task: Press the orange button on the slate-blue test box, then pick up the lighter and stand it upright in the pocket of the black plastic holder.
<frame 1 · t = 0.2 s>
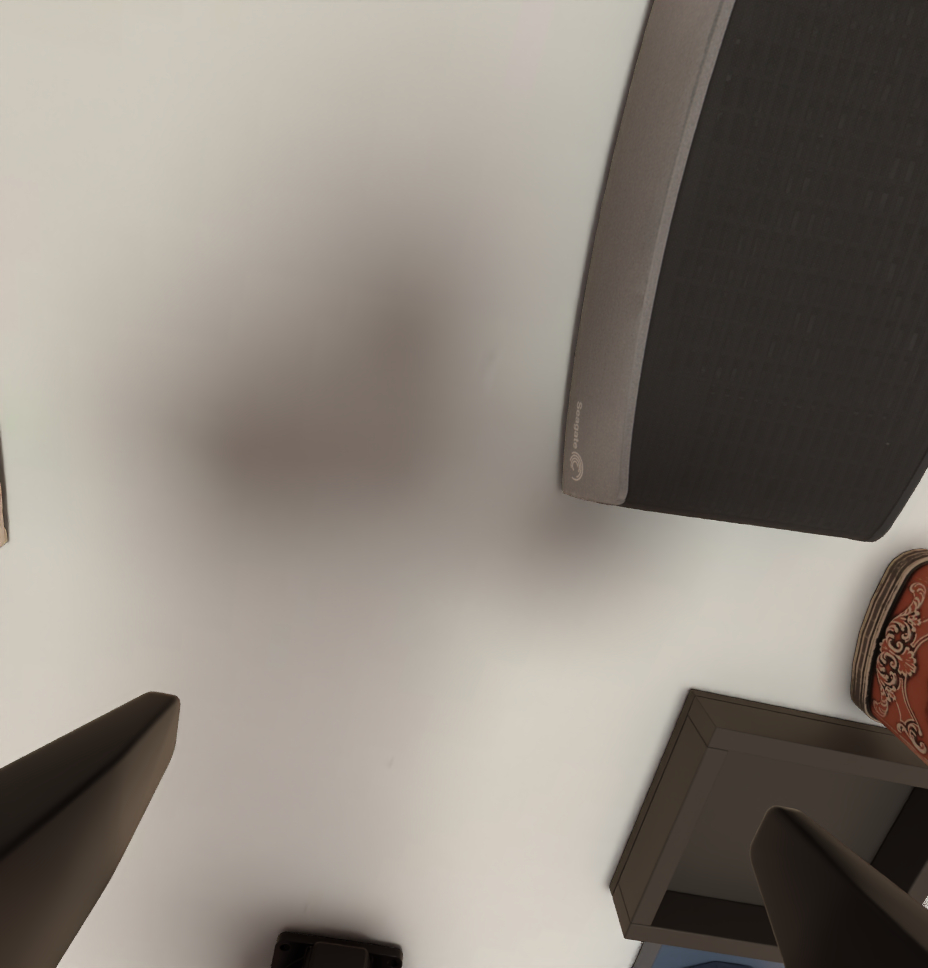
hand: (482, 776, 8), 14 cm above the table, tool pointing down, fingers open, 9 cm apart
hard drive: (766, 259, 20), on the table
holder: (772, 816, 27), on the table
lighter: (893, 631, 25), on the table
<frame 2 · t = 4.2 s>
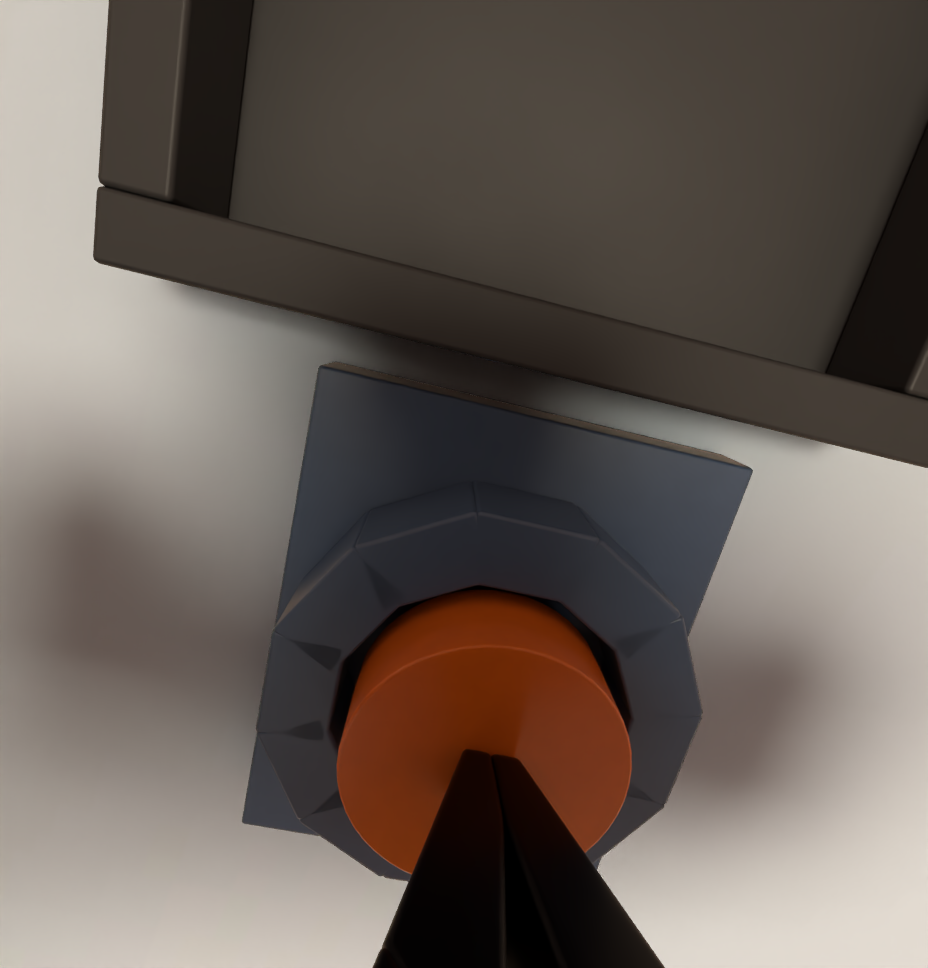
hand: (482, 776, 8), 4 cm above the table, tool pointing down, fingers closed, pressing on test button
test button: (481, 735, 9), point 3 cm above the table, slide at -0.1 cm, touching gripper
test box: (473, 630, 12), on the table
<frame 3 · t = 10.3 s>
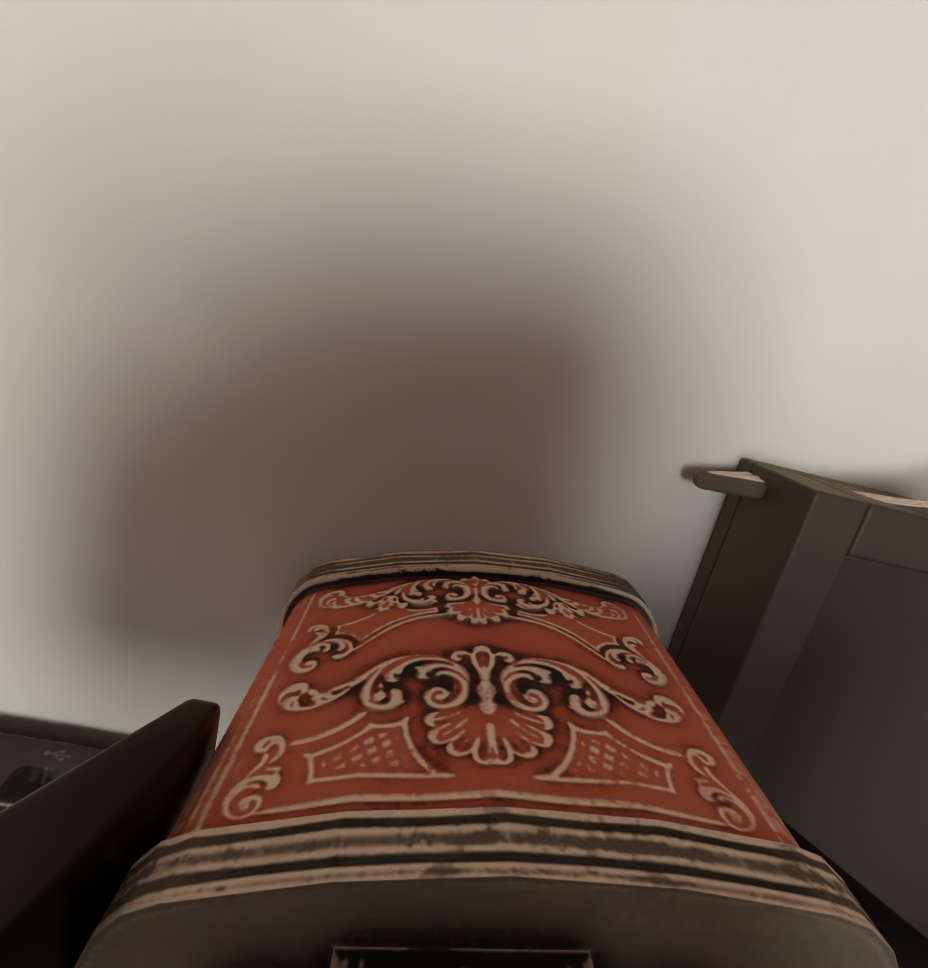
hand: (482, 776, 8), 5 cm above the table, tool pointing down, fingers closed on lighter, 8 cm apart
holder: (868, 756, 14), on the table
lighter: (468, 615, 13), on the table, touching gripper
when the fingers open (5 cm above the table, at t = 15.6 s): lighter stays where it is, resting on holder.
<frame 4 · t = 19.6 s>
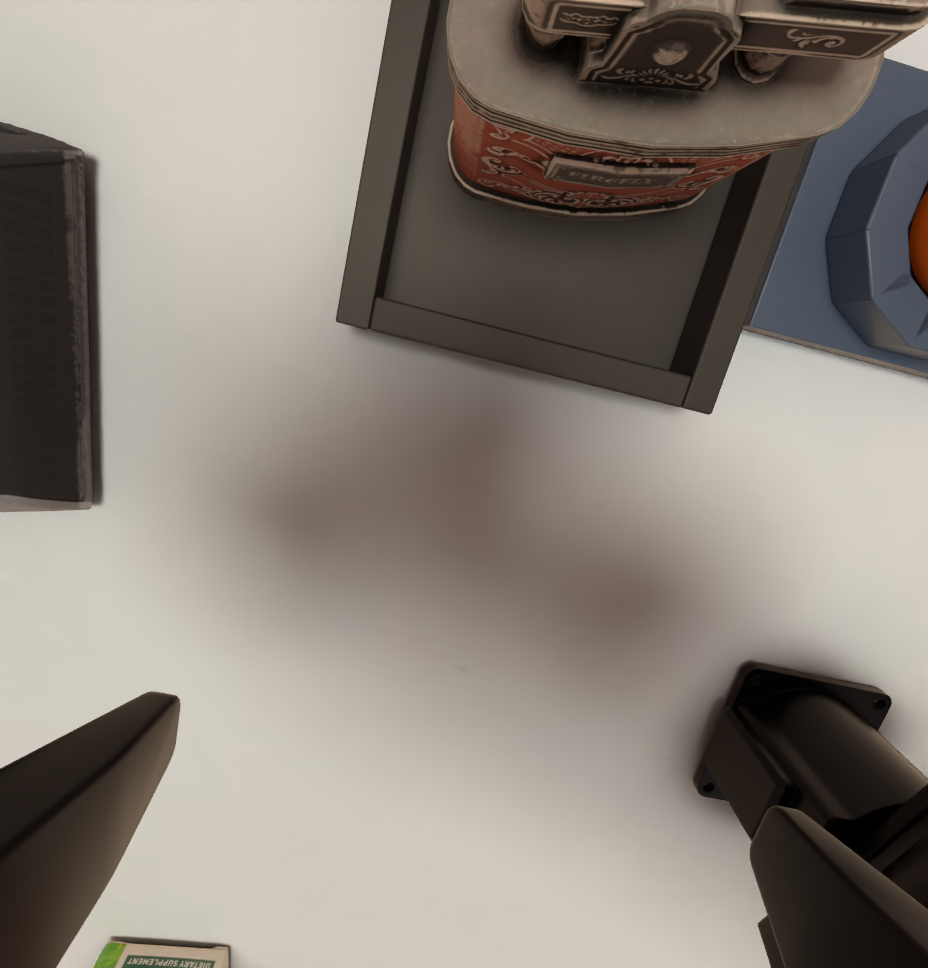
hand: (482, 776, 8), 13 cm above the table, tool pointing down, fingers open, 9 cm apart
test box: (912, 242, 19), on the table
holder: (572, 162, 18), on the table
lighter: (575, 163, 17), resting on holder
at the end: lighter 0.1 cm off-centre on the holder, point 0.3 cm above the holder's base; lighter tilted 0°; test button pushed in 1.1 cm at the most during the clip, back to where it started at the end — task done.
